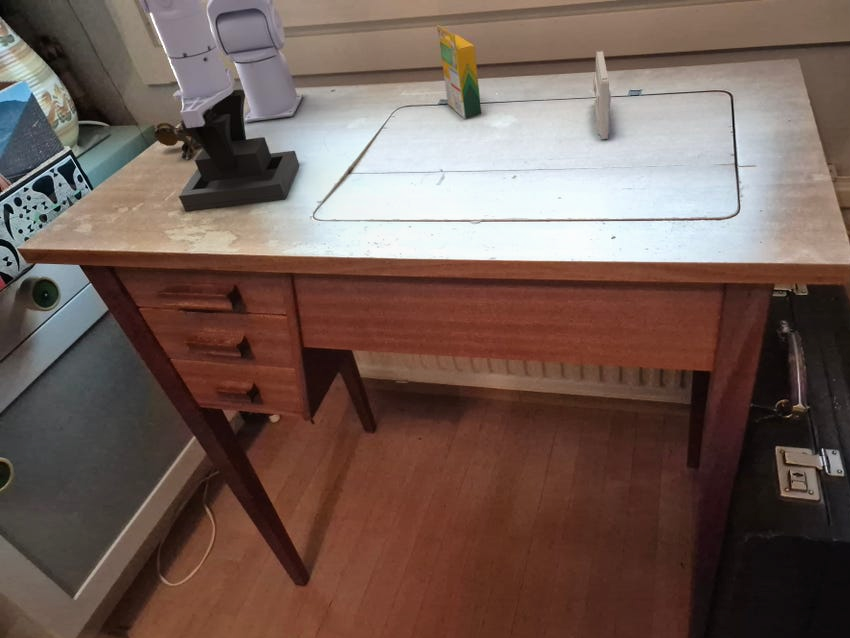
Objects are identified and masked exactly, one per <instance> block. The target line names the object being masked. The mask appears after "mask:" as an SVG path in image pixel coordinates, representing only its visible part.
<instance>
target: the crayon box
mask: <svg viewBox="0 0 850 638" xmlns="http://www.w3.org/2000/svg"><path fill="white" fill-rule="evenodd" d="M436 29H437V35H438V40H439V41H438V42H439V47H440V55H441V63H442V69H443V77H444V85H445V86H444V87H445V92H446V99H447V101H446V102H447V106H449V107H450V108H452V109H453V110H454V111H455V112H456V113H457V114H458V115H460V116H461V117H462V118H463V119H464V120H466V119H470V118H473V117H476V116H480V115H482V105H481V98H480V97H481V95H480V87H479V77H478V68H477V59H476V48H475V45H474V44H472V43H471V42H469V41H467V40H465V39H464V38H462V37H461V36H459V35H458V34H453V33H452V32H450V31H449V30H447V29H445V28H444V27H442V26H440V25H439V24H436ZM444 35H446V36H444Z"/></svg>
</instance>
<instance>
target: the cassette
mask: <svg viewBox="0 0 850 638" xmlns="http://www.w3.org/2000/svg"><path fill="white" fill-rule="evenodd" d="M595 52H596V53H595V73H594V74H593V91H594V96H595V99H594V110H593V111H594V117H595V118H594V119H595V125H596V126H595V127H596V133H597V135H598V136H600V140H608V139H609V135H610V134H611V133H610V114H609V113H610V111H611V103H612V95H611V93H612V92H611V91H610V80H609V76H608V71H607V65H606V59H605V55H604V50H603V49H602V50H596V51H595Z"/></svg>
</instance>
